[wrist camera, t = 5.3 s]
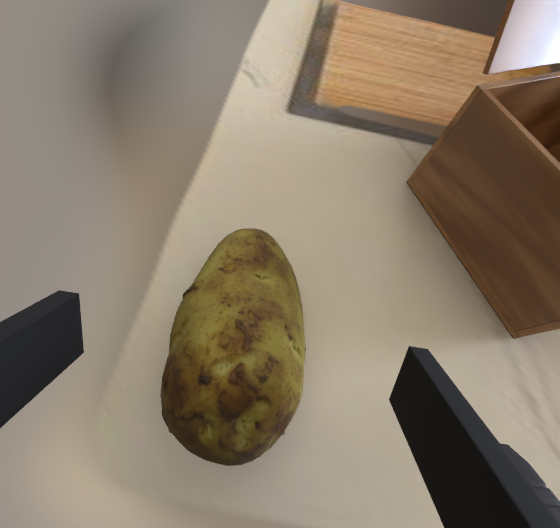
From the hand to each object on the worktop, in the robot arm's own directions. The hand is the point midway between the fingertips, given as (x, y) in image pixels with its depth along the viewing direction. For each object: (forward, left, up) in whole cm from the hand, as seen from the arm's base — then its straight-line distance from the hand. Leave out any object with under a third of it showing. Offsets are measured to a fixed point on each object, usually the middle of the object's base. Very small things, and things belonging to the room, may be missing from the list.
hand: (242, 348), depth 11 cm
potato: (+1, +2, -9) cm, 9 cm away
